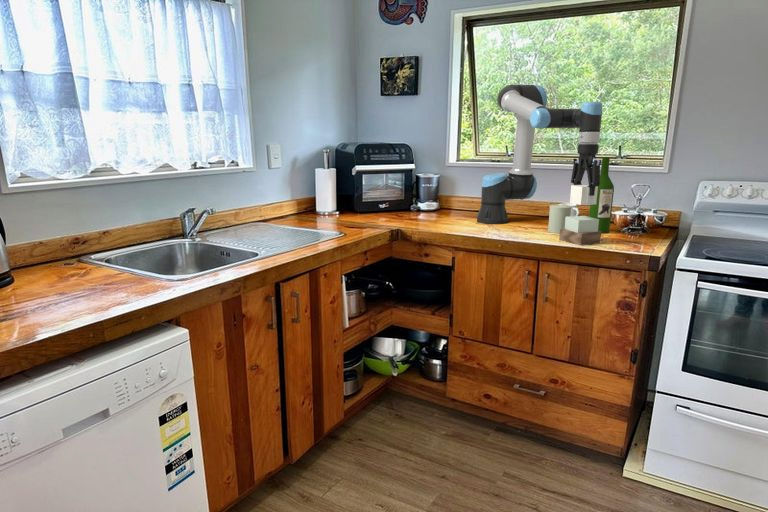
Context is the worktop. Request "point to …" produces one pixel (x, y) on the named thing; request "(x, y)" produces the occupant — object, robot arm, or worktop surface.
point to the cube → (581, 194)
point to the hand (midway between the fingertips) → (583, 202)
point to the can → (558, 217)
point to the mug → (572, 208)
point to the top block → (581, 224)
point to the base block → (580, 237)
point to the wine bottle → (603, 199)
